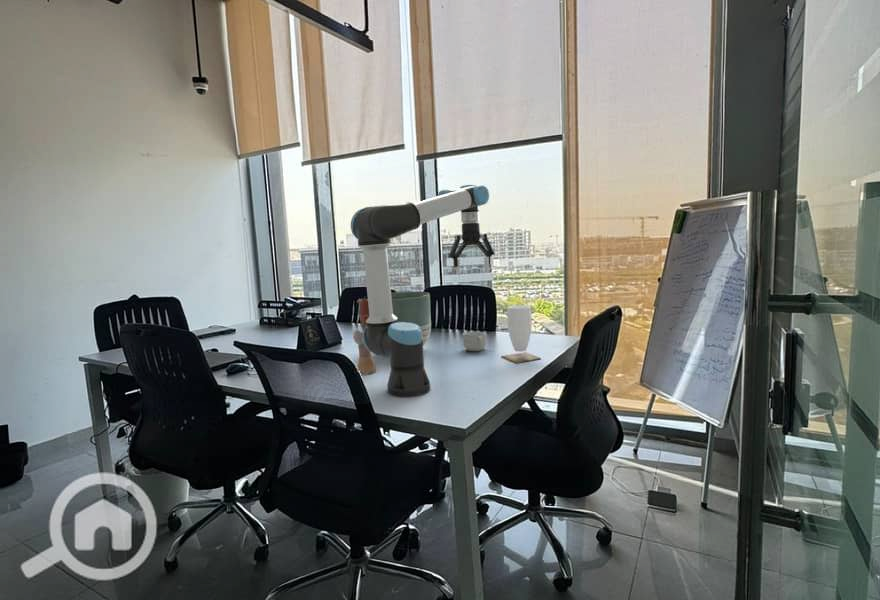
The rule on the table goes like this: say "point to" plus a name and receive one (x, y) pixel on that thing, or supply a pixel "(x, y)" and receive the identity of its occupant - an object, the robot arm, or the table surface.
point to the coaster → (520, 357)
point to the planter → (413, 310)
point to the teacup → (474, 341)
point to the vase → (365, 358)
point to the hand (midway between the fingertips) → (472, 273)
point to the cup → (519, 326)
